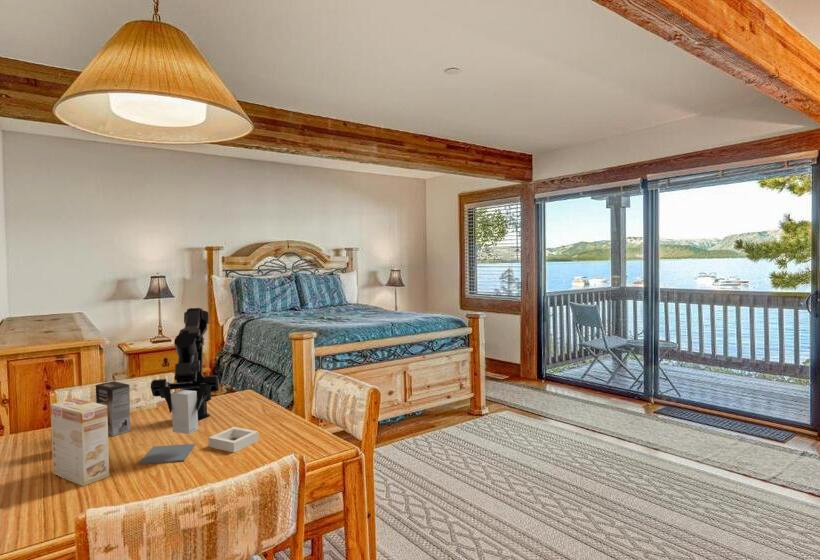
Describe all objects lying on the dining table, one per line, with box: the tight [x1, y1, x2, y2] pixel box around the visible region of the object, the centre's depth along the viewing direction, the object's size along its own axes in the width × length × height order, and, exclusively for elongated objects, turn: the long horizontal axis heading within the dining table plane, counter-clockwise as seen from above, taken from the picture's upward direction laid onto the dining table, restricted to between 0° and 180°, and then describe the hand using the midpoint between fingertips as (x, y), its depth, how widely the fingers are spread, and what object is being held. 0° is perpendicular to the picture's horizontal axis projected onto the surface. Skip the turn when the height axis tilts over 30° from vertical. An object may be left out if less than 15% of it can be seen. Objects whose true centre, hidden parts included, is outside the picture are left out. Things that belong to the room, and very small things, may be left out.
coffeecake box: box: [50, 398, 111, 487], centre depth 131 cm, size 15×7×20 cm, turn 61°
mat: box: [138, 443, 196, 465], centre depth 145 cm, size 12×12×1 cm
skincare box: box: [171, 389, 199, 435], centre depth 145 cm, size 6×4×12 cm
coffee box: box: [95, 380, 131, 437], centre depth 163 cm, size 9×6×16 cm
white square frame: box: [208, 426, 260, 454], centre depth 153 cm, size 10×10×3 cm
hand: (184, 410), depth 144 cm, fingers closed on skincare box, 7 cm apart
